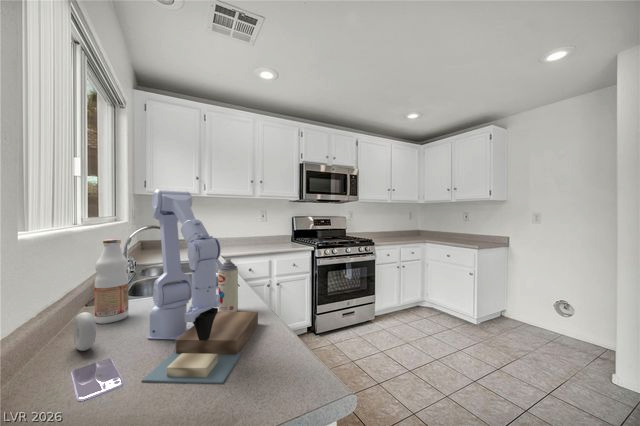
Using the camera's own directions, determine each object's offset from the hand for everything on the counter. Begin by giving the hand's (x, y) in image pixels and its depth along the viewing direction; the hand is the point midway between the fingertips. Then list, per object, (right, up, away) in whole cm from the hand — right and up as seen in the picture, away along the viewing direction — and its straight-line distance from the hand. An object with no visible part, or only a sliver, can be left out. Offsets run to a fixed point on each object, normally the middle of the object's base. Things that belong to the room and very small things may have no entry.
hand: (204, 339), depth 67 cm
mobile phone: (-21, -5, -8) cm, 23 cm away
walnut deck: (0, -5, +11) cm, 12 cm away
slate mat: (0, -5, -4) cm, 6 cm away
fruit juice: (-44, -5, +26) cm, 51 cm away
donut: (-35, -5, +5) cm, 35 cm away
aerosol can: (-5, -5, +31) cm, 32 cm away
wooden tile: (0, -2, -5) cm, 6 cm away
